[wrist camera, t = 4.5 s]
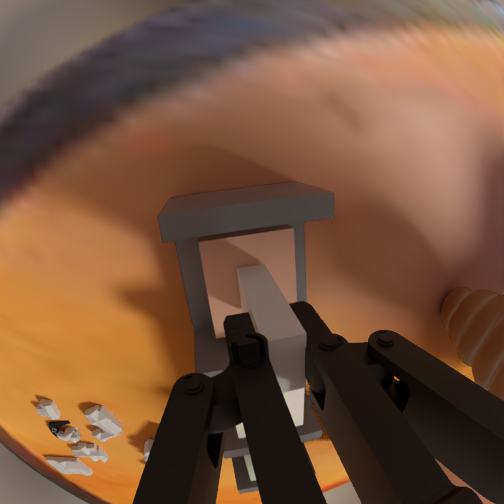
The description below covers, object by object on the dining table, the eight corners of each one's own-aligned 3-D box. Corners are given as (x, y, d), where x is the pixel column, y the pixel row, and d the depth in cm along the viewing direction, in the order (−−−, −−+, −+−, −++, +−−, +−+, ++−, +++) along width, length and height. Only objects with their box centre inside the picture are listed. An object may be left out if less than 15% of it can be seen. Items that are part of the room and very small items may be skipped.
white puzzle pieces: (-29, 370, 18) (-36, 381, 16) (115, 336, 20) (109, 353, 18) (65, 469, 25) (62, 479, 23) (208, 460, 27) (210, 474, 25)
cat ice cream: (446, 252, 23) (595, 343, 6) (477, 273, 25) (592, 348, 8) (404, 332, 25) (522, 454, 8) (442, 340, 27) (539, 433, 10)
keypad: (296, 181, 18) (333, 192, 13) (300, 440, 28) (314, 476, 22) (169, 198, 17) (157, 216, 12) (232, 454, 26) (239, 493, 21)
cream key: (293, 350, 19) (304, 372, 17) (294, 403, 21) (303, 424, 19) (222, 364, 18) (226, 388, 16) (234, 415, 20) (238, 438, 18)
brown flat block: (281, 218, 17) (293, 228, 15) (286, 304, 19) (297, 323, 17) (198, 230, 17) (198, 242, 14) (213, 317, 19) (216, 338, 17)
